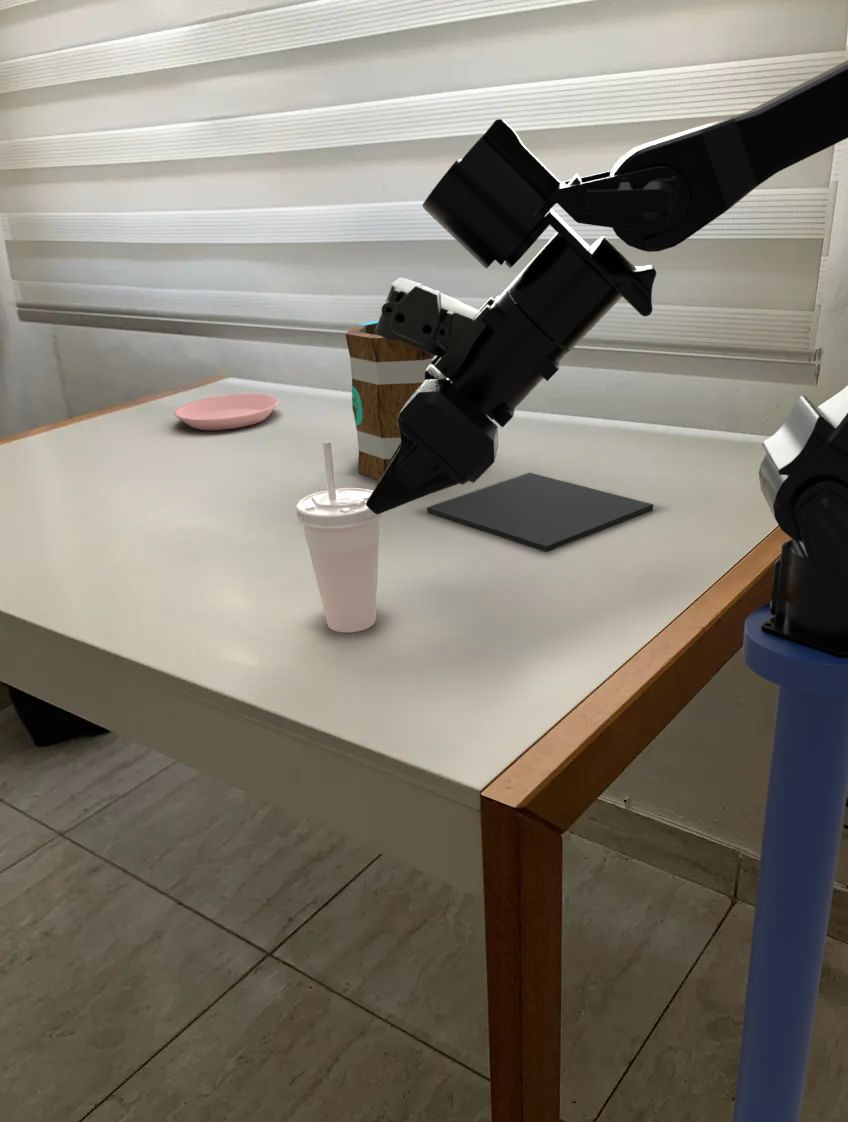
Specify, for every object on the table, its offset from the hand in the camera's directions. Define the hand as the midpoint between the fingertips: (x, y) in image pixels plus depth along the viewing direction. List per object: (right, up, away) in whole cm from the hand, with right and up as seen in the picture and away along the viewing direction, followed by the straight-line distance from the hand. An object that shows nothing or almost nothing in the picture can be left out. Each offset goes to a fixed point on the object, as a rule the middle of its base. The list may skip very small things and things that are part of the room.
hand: (382, 487), depth 73 cm
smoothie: (-2, -10, +5) cm, 11 cm away
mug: (+4, +10, +44) cm, 45 cm away
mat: (+15, +1, +24) cm, 29 cm away
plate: (-20, +19, +68) cm, 74 cm away
